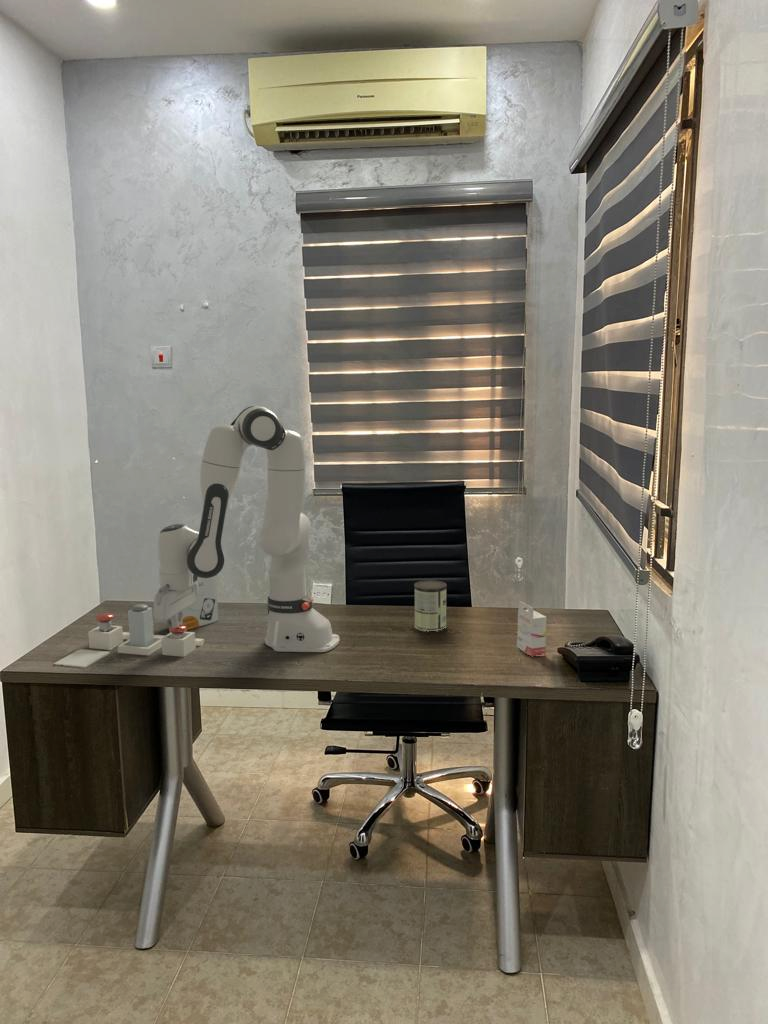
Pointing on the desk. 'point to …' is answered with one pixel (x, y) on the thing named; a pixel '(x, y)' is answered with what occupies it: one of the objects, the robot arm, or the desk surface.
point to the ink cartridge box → (531, 630)
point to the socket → (149, 650)
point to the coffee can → (430, 605)
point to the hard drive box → (202, 605)
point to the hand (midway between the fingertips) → (177, 626)
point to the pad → (82, 658)
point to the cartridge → (141, 626)
